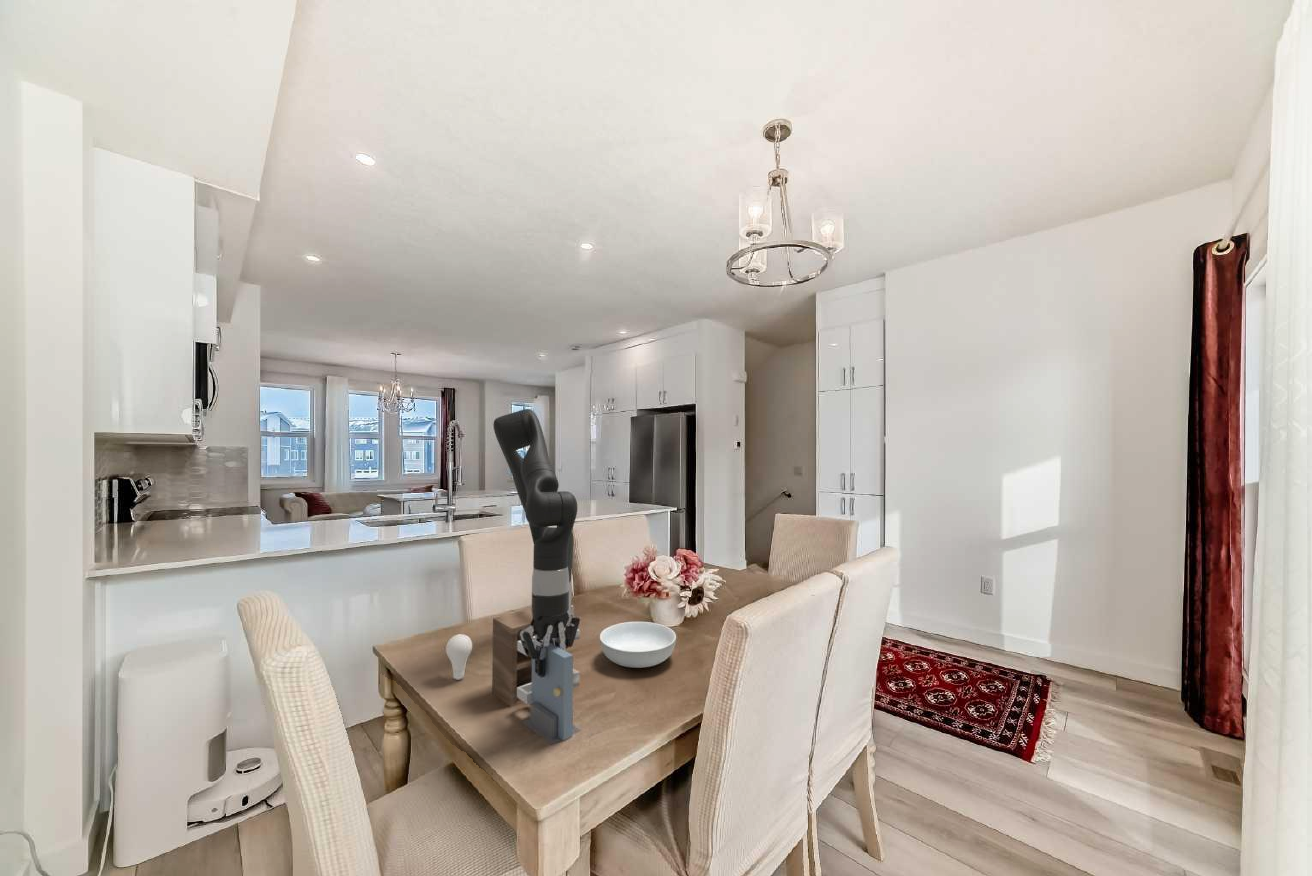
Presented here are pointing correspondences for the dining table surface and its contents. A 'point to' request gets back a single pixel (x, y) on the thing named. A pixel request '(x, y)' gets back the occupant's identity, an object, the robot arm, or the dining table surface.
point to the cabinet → (513, 657)
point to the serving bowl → (637, 643)
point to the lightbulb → (459, 653)
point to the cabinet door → (552, 687)
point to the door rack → (545, 723)
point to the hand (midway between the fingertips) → (549, 672)
